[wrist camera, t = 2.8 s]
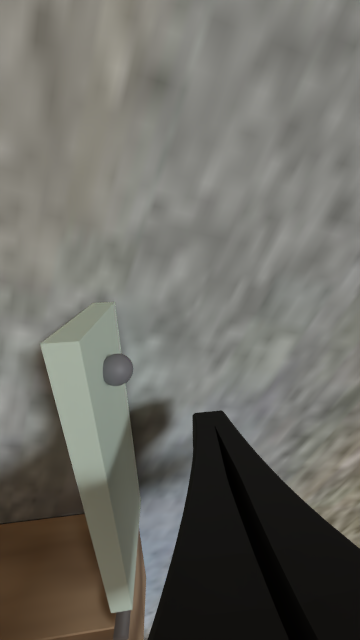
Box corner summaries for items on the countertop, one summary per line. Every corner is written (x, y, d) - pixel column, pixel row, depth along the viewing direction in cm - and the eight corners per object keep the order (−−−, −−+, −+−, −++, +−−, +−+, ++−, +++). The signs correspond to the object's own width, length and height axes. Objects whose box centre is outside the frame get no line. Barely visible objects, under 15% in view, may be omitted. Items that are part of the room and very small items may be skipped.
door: (155, 499, 14) (153, 606, 10) (126, 502, 14) (111, 613, 10) (135, 300, 10) (117, 338, 6) (93, 303, 10) (40, 343, 6)
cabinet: (150, 577, 18) (145, 713, 13) (-43, 605, 17) (-136, 769, 11) (139, 496, 15) (127, 633, 9) (-99, 524, 14) (-265, 699, 8)
